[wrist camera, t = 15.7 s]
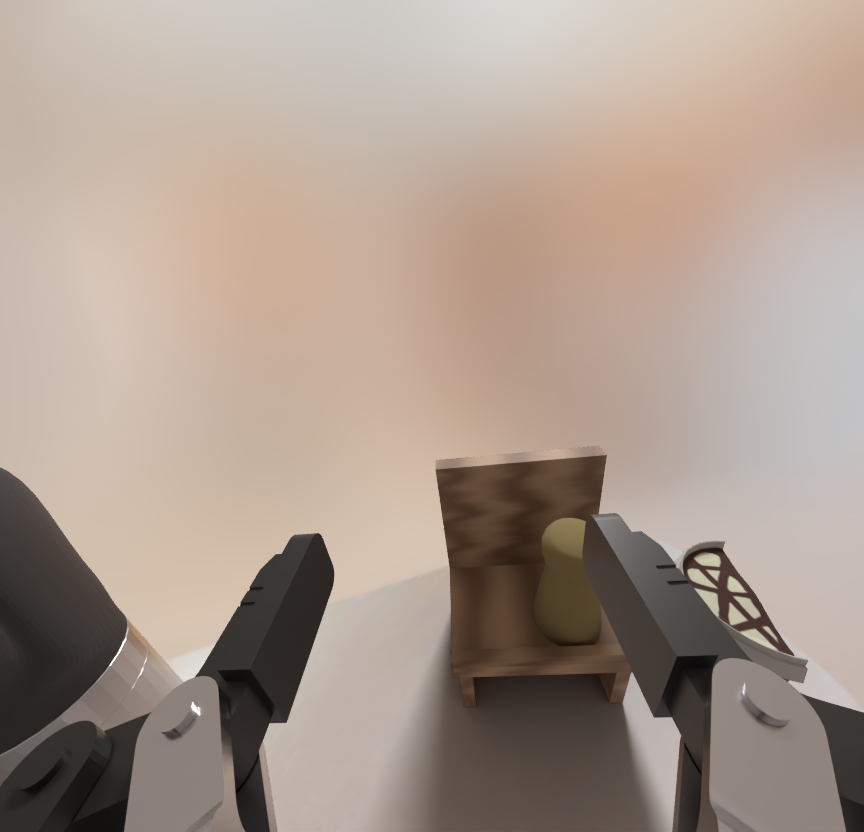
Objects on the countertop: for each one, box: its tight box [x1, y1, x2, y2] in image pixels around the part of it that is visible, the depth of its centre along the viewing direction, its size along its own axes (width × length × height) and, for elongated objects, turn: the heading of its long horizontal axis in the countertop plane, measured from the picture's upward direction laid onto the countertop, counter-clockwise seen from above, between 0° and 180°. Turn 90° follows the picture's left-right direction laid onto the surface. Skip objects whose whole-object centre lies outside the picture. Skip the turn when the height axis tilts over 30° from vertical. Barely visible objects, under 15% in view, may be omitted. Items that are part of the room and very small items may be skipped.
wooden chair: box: [436, 446, 632, 707], centre depth 31 cm, size 16×12×22 cm
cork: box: [533, 518, 601, 646], centre depth 27 cm, size 6×6×11 cm
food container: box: [675, 541, 808, 683], centre depth 31 cm, size 12×6×10 cm, turn 165°
